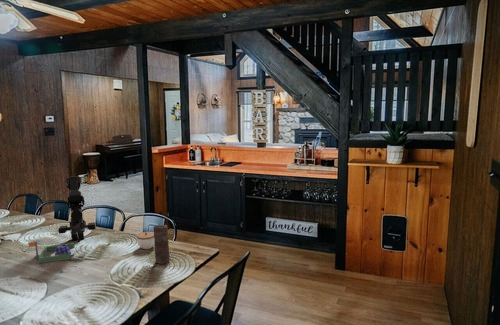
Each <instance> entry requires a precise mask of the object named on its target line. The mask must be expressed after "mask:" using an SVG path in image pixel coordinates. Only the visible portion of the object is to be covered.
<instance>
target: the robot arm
mask: <svg viewBox="0 0 500 325" xmlns="http://www.w3.org/2000/svg"><path fill="white" fill-rule="evenodd" d="M82 183H83V182H82V177H81V176H77V175H74V176H68V177H66V178H65V184H66V186H67V188H68V189H69V193H68V196H67V206H68V209H70V221H69V226H68V225H59V228H58V234H59V235H60V234H61V235H62V234H66V232H67V231H69V233H70V235H71V236H70V237H71V240H72V241H73V242H74V241H77V243H79V244H80V242H81V241H83V240H84V239H85V232H86V229H87V230H89V231H94V230H96V228H97V224H96V222H94V221H93V222H88V223H87V221H85V219H84V217H83V209H82V208H84V207H85V206H84V205H86V204H85V197H84V195H82V192H81V191H80V188H81V185H82Z"/></svg>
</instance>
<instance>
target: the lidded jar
mask: <svg viewBox="0 0 500 325" xmlns="http://www.w3.org/2000/svg"><path fill="white" fill-rule="evenodd" d="M136 241H137V244H138V246H139V247H140V248H141V249H142V250H149V249H151V248H153V246H155V243H154V231H143V232H139V233H138V234H136Z"/></svg>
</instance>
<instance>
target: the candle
mask: <svg viewBox="0 0 500 325" xmlns="http://www.w3.org/2000/svg"><path fill="white" fill-rule="evenodd" d="M152 228H153V232H154V257H155V262H156V263H157V264H160V265H165V264H168V263H169V262H170V259H171V258H170V257H171V256H170V247H169V243H170V242H169V230H168V225H167V224H163V225H162V224H157V225H153V227H152ZM164 263H165V264H164Z"/></svg>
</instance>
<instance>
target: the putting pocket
mask: <svg viewBox="0 0 500 325" xmlns="http://www.w3.org/2000/svg"><path fill="white" fill-rule="evenodd" d="M27 245H28V247H29V248H30V247H35V255H34V257H33V258H34V259H38V264H43V263H48V262H57V261H62V260H69V259H70V260H71V259H72V255H71V253H70V254H62V255H54V256H51V255H49V256H46V255H47V252H52V251H56V247H57V246H59V245H68V246H69V249H74V248H75V243H74V242H71V243H63V244H55V245H47V246H44V247H43V249H42V251H41V253H40V254H39V251H38V242H37V241H31V242H27Z"/></svg>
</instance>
